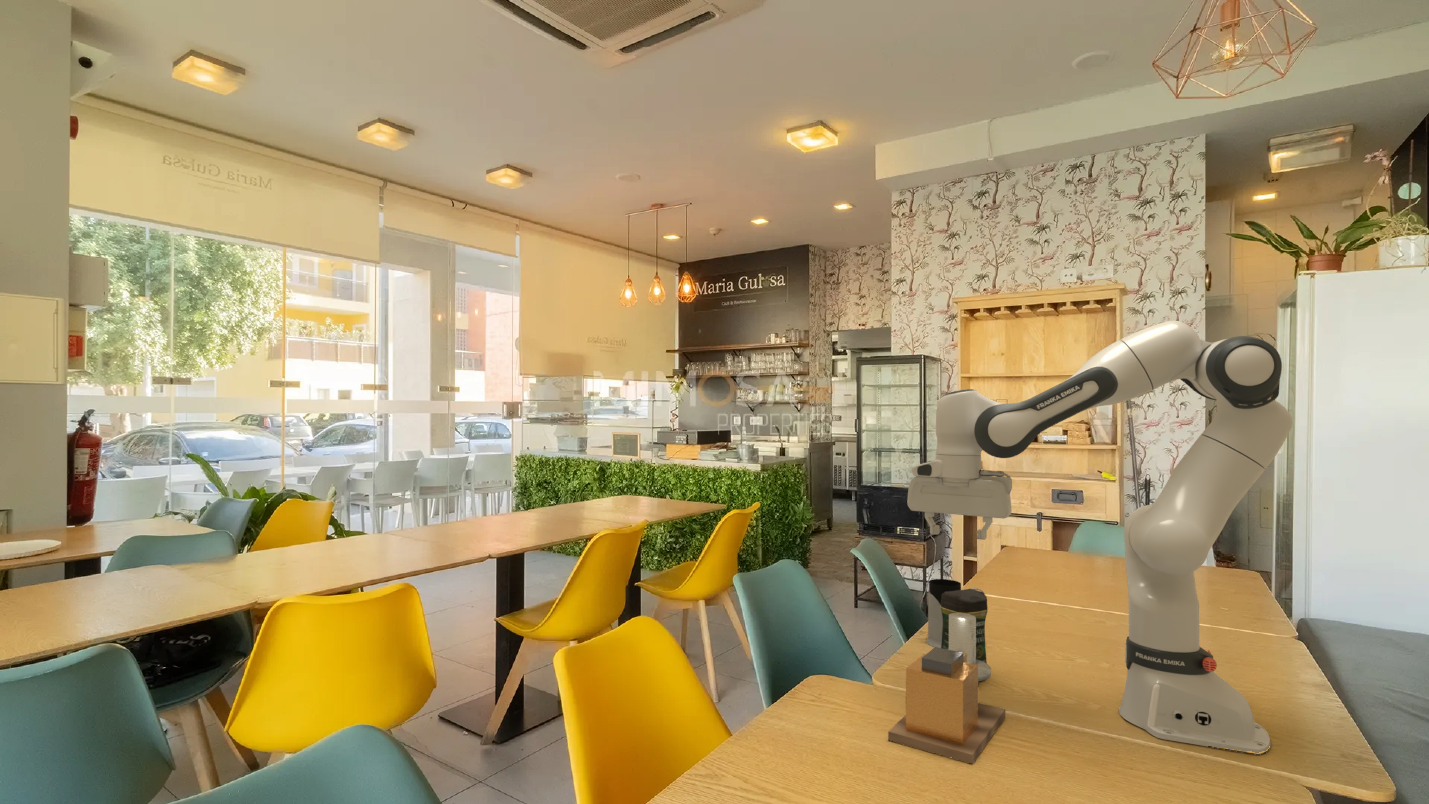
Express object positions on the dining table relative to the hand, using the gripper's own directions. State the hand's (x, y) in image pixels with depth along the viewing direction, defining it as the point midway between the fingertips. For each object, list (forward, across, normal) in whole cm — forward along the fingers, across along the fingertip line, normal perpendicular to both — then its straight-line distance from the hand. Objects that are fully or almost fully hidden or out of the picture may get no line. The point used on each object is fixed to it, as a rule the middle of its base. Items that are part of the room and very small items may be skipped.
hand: (957, 536), depth 143 cm
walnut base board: (+31, -4, +20) cm, 37 cm away
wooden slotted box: (+30, -4, +17) cm, 34 cm away
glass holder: (+31, +9, -30) cm, 44 cm away
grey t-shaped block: (+29, -4, +23) cm, 37 cm away
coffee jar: (+31, +1, -8) cm, 32 cm away
